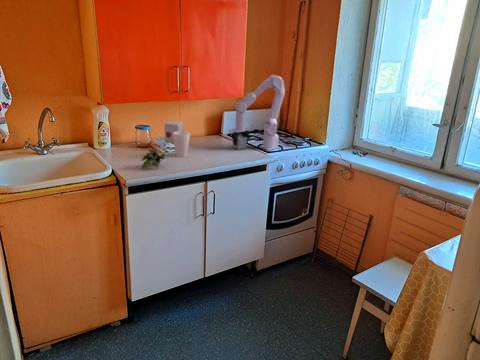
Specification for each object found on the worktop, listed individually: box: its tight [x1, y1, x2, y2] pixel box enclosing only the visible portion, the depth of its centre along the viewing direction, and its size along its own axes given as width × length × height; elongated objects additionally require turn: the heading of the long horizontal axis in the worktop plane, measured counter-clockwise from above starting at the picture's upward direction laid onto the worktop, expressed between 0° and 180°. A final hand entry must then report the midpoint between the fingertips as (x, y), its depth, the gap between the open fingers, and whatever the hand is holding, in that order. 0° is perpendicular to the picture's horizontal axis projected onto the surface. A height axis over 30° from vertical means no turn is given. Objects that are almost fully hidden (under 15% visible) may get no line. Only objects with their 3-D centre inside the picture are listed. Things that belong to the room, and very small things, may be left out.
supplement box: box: [164, 120, 185, 144], centre depth 229 cm, size 9×9×15 cm
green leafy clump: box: [141, 148, 166, 170], centre depth 192 cm, size 11×11×12 cm
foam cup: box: [173, 130, 191, 158], centre depth 213 cm, size 10×9×13 cm
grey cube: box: [232, 134, 248, 150], centre depth 233 cm, size 6×6×6 cm
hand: (239, 143), depth 233 cm, fingers closed on grey cube, 6 cm apart
